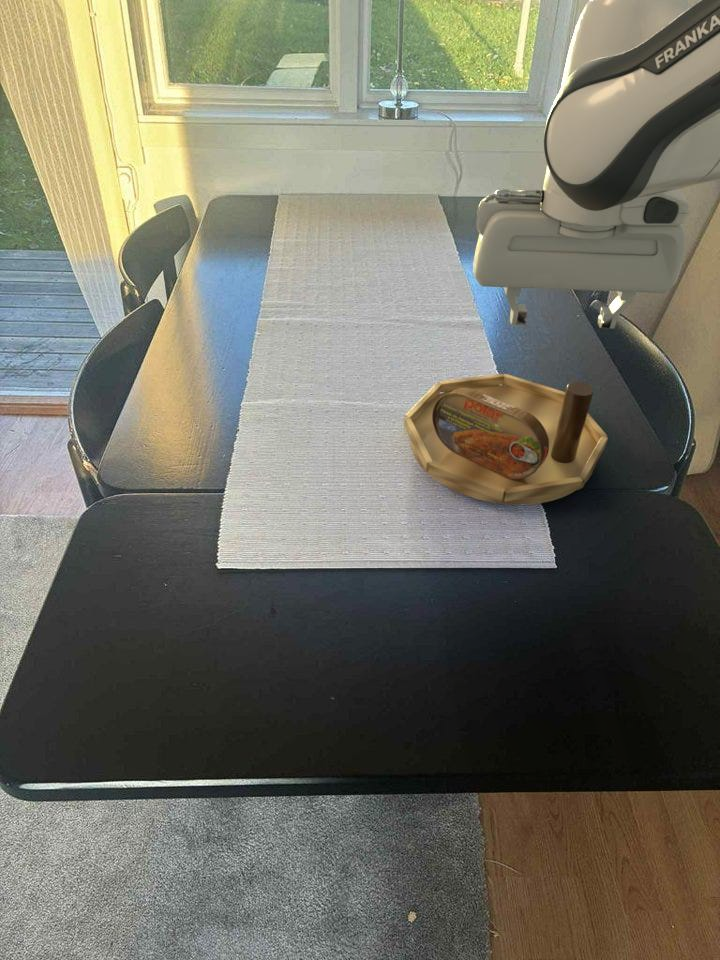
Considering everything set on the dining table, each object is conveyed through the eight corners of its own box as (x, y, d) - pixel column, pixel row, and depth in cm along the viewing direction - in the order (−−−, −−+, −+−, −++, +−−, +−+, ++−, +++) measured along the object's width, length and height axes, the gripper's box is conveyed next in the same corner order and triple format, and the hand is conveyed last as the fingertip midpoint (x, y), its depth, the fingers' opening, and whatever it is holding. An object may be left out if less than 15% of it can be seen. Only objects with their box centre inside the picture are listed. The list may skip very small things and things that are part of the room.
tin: (428, 440, 89) (433, 384, 84) (442, 429, 91) (448, 374, 86) (532, 491, 82) (545, 434, 77) (545, 478, 84) (559, 421, 79)
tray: (618, 425, 94) (641, 353, 87) (559, 532, 79) (581, 454, 72) (457, 374, 104) (465, 304, 96) (376, 460, 88) (378, 385, 81)
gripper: (482, 200, 64) (466, 335, 73) (708, 207, 64) (663, 342, 73) (477, 178, 69) (462, 307, 78) (688, 184, 68) (648, 314, 77)
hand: (561, 324), depth 75 cm, fingers open, 8 cm apart
